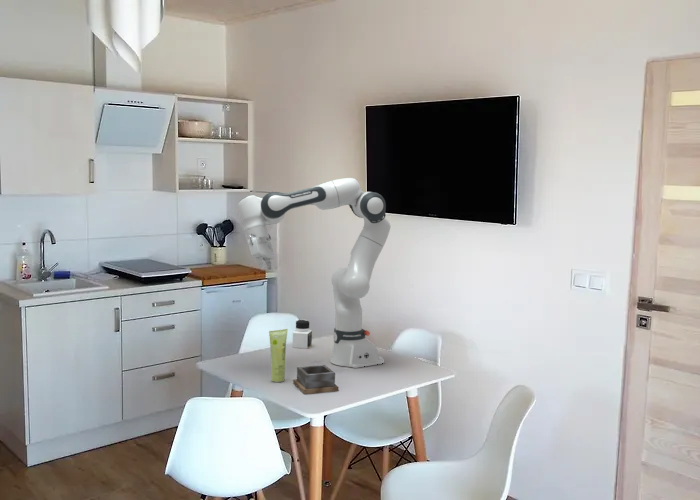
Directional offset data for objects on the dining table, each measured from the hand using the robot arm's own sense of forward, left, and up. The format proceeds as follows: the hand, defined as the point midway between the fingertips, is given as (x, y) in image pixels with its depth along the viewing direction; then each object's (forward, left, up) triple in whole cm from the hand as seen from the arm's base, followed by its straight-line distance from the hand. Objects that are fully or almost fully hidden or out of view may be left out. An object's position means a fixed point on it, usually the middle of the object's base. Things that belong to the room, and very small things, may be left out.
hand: (266, 269), depth 265 cm
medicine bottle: (-26, -32, -40) cm, 57 cm away
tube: (-1, +14, -40) cm, 43 cm away
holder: (-12, +26, -40) cm, 49 cm away
